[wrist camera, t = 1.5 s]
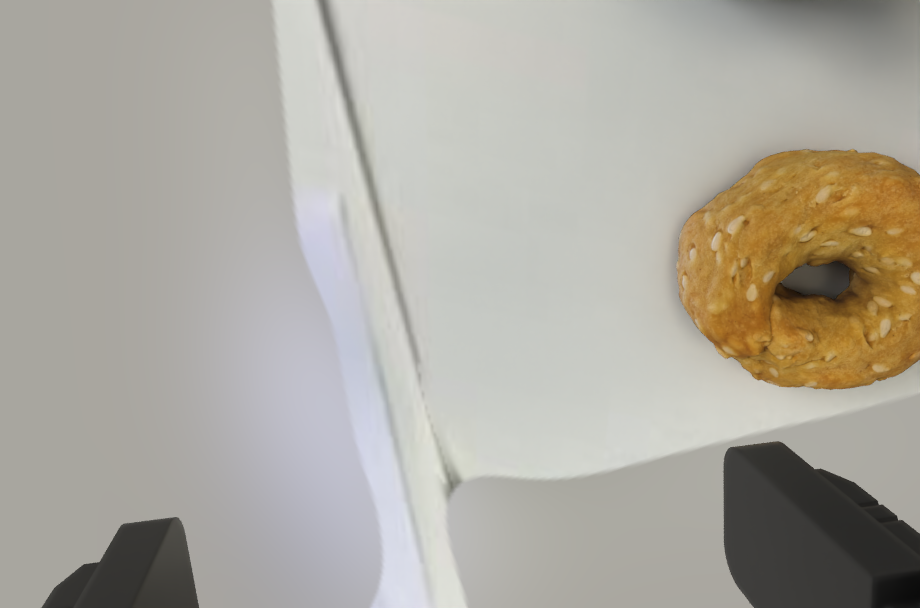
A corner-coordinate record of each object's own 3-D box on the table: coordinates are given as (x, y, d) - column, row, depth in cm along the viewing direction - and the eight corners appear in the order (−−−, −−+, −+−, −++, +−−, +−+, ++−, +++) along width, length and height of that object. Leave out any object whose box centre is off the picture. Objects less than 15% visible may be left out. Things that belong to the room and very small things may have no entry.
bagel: (701, 119, 33) (746, 126, 28) (958, 170, 34) (1042, 184, 29) (641, 353, 35) (674, 395, 31) (882, 393, 36) (949, 439, 32)
